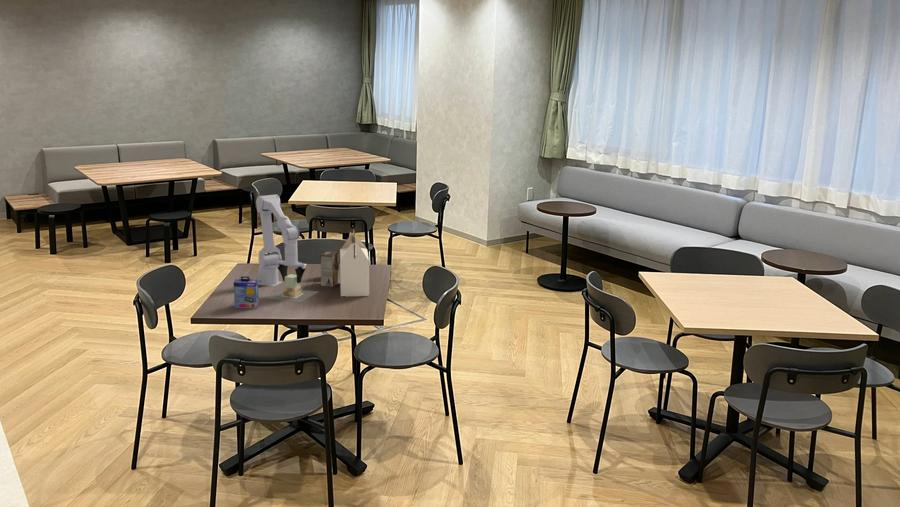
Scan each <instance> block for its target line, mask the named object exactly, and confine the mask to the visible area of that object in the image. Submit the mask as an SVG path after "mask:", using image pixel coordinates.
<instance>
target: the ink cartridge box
mask: <svg viewBox="0 0 900 507" xmlns="http://www.w3.org/2000/svg"><path fill="white" fill-rule="evenodd" d="M259 298H260V297H259V285H258V278H250V277H249V275H248V276H246V275H245V276H244V275H243V276H240V278H236V279H234V281H233V300H234V309H258V308H259V307H258V306H259V305H260V299H259Z"/></svg>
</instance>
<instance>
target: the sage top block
mask: <svg viewBox="0 0 900 507" xmlns="http://www.w3.org/2000/svg"><path fill="white" fill-rule="evenodd" d="M299 286H301V282H300V283H297V275H296V274H294V273H293V274H292V273H290V274H287V276H285V281H284V287H287V288H293V289H295V288H297V287H299Z"/></svg>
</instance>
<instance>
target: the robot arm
mask: <svg viewBox="0 0 900 507" xmlns="http://www.w3.org/2000/svg"><path fill="white" fill-rule="evenodd" d="M255 203H256V211H257V213H258V214H259V215H260V222H261V233H262V241H263V247H262V248H261V249H260V250H259V251H258V264H259V266H258V269H257V279H258V286H267V287H268V286H270V287H275V286H277V285H279V284H281V283H282V282H285V276H288V269H289V267H290V268H292V267H293V268H295V269H294V271H295V275H297V283H300V284H301V282H302V278H303V275H304V273H305V270H306V268H307V263H303V262H300V261H299V260H298V259H299V258H298V240H299V239H300V230H299V228H298V227H297V226H296V225H293V223H292V222H291V220H290V218H289V217H288V216H287V215H285V214H284V212H283V210H282V208H281V198H280V196H279V195H278V194H275V193H274V194H268V195H258V196H257V198H256V201H255ZM272 214H273V216H274V217H275V218H276V224H277V226H278V227H279V229H280V231H281V236H282V237H281V238H282V240H283V241H282V242H283V245H284V260H282V254H281V251H280V249H279V248H278V247H276V246H275V240H274V232H273V220H272ZM279 272H280V276H281V278H282V281H280V280H279Z"/></svg>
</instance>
